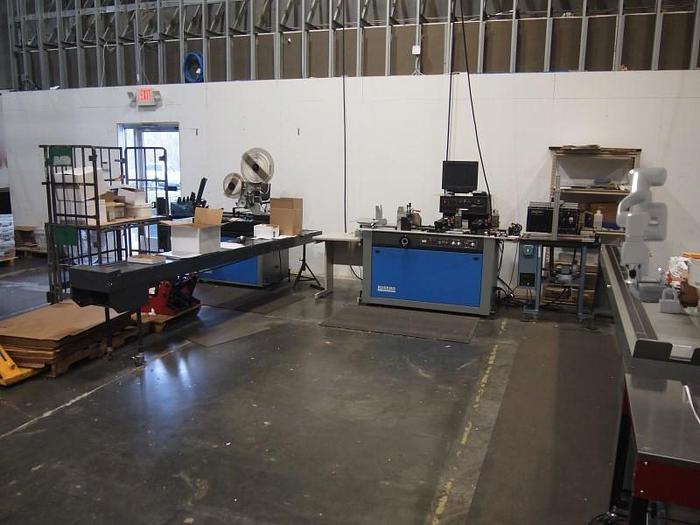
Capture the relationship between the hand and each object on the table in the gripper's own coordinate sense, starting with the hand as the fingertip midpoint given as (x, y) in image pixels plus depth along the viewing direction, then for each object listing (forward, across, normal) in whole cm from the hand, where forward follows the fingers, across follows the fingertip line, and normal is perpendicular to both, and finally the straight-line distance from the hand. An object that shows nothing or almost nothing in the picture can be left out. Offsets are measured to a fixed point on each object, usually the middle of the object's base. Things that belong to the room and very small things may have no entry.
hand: (632, 278), depth 252 cm
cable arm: (+8, -10, -7) cm, 15 cm away
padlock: (+9, -9, +30) cm, 33 cm away
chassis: (+9, -8, -2) cm, 12 cm away
